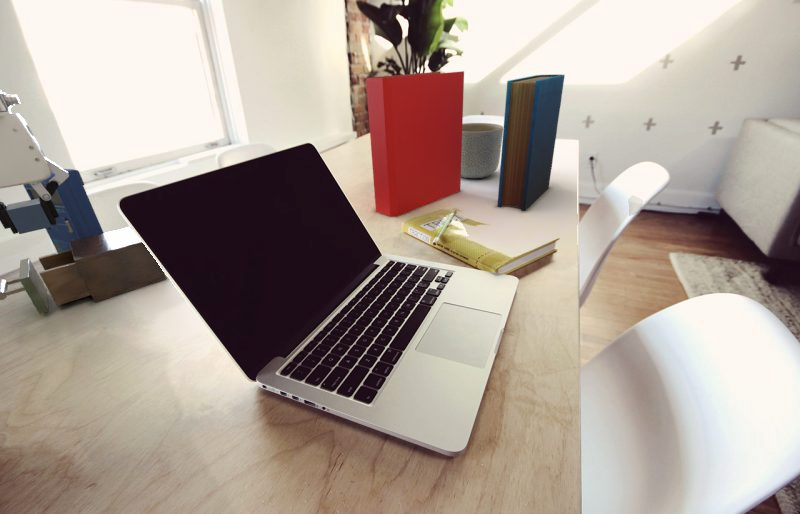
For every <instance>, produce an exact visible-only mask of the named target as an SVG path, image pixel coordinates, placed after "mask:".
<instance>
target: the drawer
mask: <svg viewBox="0 0 800 514" xmlns="http://www.w3.org/2000/svg"><path fill="white" fill-rule="evenodd" d="M38 260H39V263H40V264H41V266H42V268H43V270H41V271H39V272H38V271H37V270H36V268H35V266H34V264H33V262H32V261H31V258H29V257H28V258H24V259H20V261H19V277H16V278H12V279H9V280H8V279H7V280H6V279H0V301H4V300H6V299H7V297H8V296H11V295H15V294H18V293H21V292H26V294H27V295H28V297H29V298H30V301H31V302H32V304H33V306H34V307H35V309H36V312H38V315H43V314H45V313H48V312H50V310H49V299H48V293H49V294H50V295H51V297H52V299H53V301H54V303H55V305H56V306H61V305H65V304H67V303H70V302H73V301H76V300H79V299H82V298H86V297H89V296H92V295H91V293H90V291H89V289H88V287H87V285H86V283H85V281H84V279H83V277H82V275H81V273H80V271H79V269H78V267H77V265H76V263H75V261H74V257H73V253H72V249H69V250H66V251H62V252H54V253H50V254H46V255H43V256H39V257H38ZM18 283H21V286H20V287H16V288H13V289H12V288H11V289H9V290H8V288H9V286H11V285H15V284H18Z"/></svg>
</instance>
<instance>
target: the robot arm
mask: <svg viewBox="0 0 800 514" xmlns="http://www.w3.org/2000/svg"><path fill="white" fill-rule="evenodd" d="M15 105H21V102H20V99H19V97H18V95H17V94H10V93H6V92H2V90H0V189H6V188H12V187H17V186H23V185H24V184H29V183H30V184H31V186H32V187H33V188H34V189H35V191H36V192H37V193H38V194H39V198H40V204H41V206H42V208H43V210H44V212H45V214H46V216H47V218H48V220H49V222H50V223H51V225H55V224H57V223H56V219H55V218H57V217H59V214H58V212H57V210H56V208H55V206H54V204H53V202H52V200H51V197H52V196H53V194H54V193H55V191H56V190H57V188H58V186H59V185H60V184H62V183H63V182H64V181H65V180H66V179H67V178H68V177H69V174H68V172H67V171H65V170H64V169H65V168H62V167H61V166H60V165H58V164H56V163H55V162H54V161H52V160H50V159H49V158H47V157H46V155H45V153H44V152H43V150H42V148H41V146H40V144H39V142H38V140H37V139H36V137H35V135H34V133H33V132H32V130H31V129H30V127H29V125H28V124H27V122H26V120H25V119H24V118H23V117H22V116H21V114H20V113H18V112H12V110H11V108H12V107H14V106H15ZM51 172H53V173H54V174H55V176H54V177H53V178H52V179H51V180H49V182H48V183H47V185H46V186H45V185H44V183H43V182H42V181H43V180H46V179H48V178H49V177H50V176H51ZM6 210H7V205H6V204H5V203H4V202H3V201H2V200H0V224H1V225H2V227H3V229H5V230H7V229H10V230H11V233H12V234H13V235H16V234H19V232H18V231H17V229H16V227H15V225H14V224H13V222H12V220H11V218H10V216H9V215H8V213H7V211H6Z"/></svg>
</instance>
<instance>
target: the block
mask: <svg viewBox="0 0 800 514" xmlns="http://www.w3.org/2000/svg"><path fill="white" fill-rule="evenodd" d="M6 206H7V210H6V211H7V213H8V215H9V216H10V218H11V220H12V222H13V224H14V225H15V227H16V229H17V231H18V234H19V235H22V234H28V233H31V232H32V233H33V232H36V231H40V230H44V229H45V228H49V227H52V225H51V223H50V222H49V220H48V218H47V216H46V214H45V212H44V210H43V208H42V206H41V204H40V198H38V199H33V200H31V199H29V200H24V201H19V202H13V203H8V204H7V205H6ZM45 230H46V229H45Z"/></svg>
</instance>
